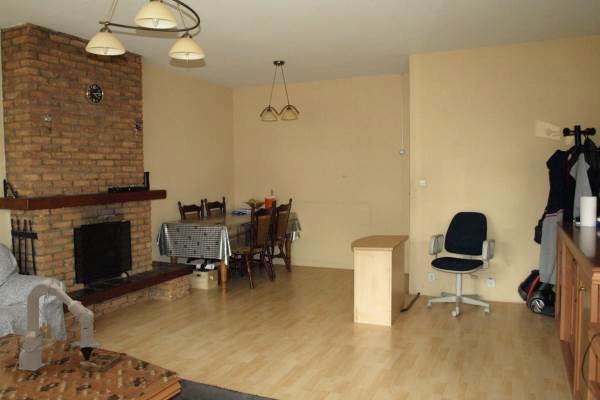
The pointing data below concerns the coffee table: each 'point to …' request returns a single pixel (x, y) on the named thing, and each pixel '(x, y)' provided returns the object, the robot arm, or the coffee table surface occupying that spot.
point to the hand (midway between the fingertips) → (87, 361)
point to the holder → (104, 368)
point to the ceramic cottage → (43, 337)
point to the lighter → (87, 363)
